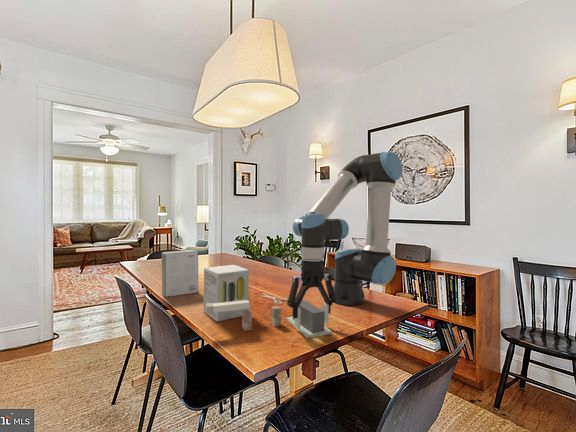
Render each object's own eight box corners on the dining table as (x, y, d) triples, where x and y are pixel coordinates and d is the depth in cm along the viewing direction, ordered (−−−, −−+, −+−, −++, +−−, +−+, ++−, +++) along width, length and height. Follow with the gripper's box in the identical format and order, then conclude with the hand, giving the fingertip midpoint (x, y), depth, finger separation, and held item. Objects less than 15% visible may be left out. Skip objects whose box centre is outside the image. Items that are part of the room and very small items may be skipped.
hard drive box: (194, 289, 153) (194, 249, 152) (198, 292, 146) (198, 251, 146) (161, 293, 144) (161, 251, 144) (164, 297, 138) (164, 253, 137)
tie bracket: (277, 322, 109) (278, 305, 108) (280, 325, 106) (281, 308, 106) (242, 327, 104) (242, 310, 104) (244, 330, 101) (244, 312, 101)
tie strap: (247, 306, 104) (247, 299, 104) (249, 309, 101) (250, 302, 101) (205, 310, 99) (205, 303, 99) (206, 314, 96) (206, 306, 96)
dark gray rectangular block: (303, 317, 112) (303, 299, 112) (324, 331, 99) (324, 311, 99) (292, 319, 110) (292, 301, 110) (312, 333, 97) (312, 313, 97)
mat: (308, 316, 115) (308, 314, 115) (331, 333, 99) (331, 331, 99) (286, 319, 111) (286, 317, 111) (306, 337, 96) (306, 335, 96)
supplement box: (216, 322, 108) (216, 273, 108) (203, 312, 119) (203, 267, 119) (249, 315, 116) (249, 269, 116) (234, 305, 127) (234, 264, 126)
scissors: (281, 304, 128) (249, 295, 141) (281, 306, 128) (249, 296, 141) (297, 299, 136) (266, 290, 149) (297, 301, 136) (266, 292, 149)
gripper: (335, 256, 110) (334, 317, 110) (277, 259, 101) (276, 325, 102) (347, 259, 103) (346, 324, 103) (285, 263, 94) (284, 334, 95)
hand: (311, 325), depth 103 cm, fingers open, 10 cm apart
